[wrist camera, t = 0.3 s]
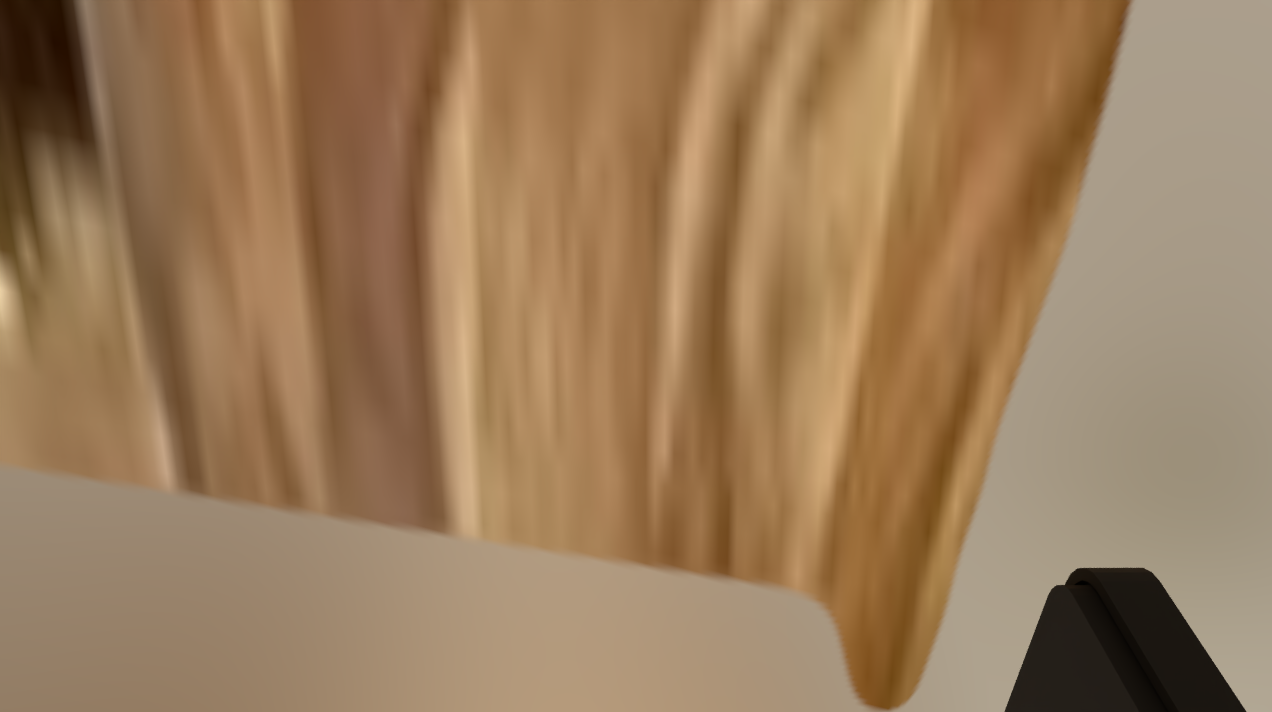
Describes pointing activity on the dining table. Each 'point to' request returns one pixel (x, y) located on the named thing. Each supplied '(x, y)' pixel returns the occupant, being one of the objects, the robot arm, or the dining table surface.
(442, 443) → the dining table surface
